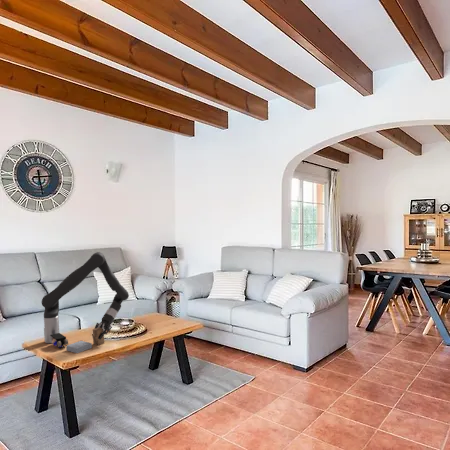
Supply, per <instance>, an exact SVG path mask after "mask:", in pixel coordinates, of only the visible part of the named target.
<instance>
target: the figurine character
mask: <svg viewBox="0 0 450 450" xmlns="http://www.w3.org/2000/svg"><path fill="white" fill-rule="evenodd" d="M50 336H52V337H53V340H52V343H51V344H52V345H53V346H55V347H57V348H58V349H59V350H61V349H62V347H63V348H66V346H67V345H69V339H67V336H65V335H63V334H62V333H60V332H59V333H56V334H51V335H50Z"/></svg>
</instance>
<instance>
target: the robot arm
mask: <svg viewBox="0 0 450 450" xmlns="http://www.w3.org/2000/svg"><path fill="white" fill-rule="evenodd" d="M105 257H106V256H105V255H104V253H102V252H100V251H99V252H98V251H97V252H94V253H93V254H92V255H90V257H89V259H88V260H86V261H85V263H83V264H82V265H81V266H80V267H78V268H77V269H75V270H74V271H72V272H71V273H70V274H68V275H67V276H66V277H65V278H64V279H63V280H62V281H61V282H59V285H57V286H56V287H55V288H54V289H53V290H52V291H50V292H49V293H47V294H45V295H44V296H43V297H42V298H41V306H42V307H43V308H44V313H43V326H44V327H43V338H44V343H46V344H52V340H53V337H52V336H50V335H51V334H56V333H60V320H59V317H60V316H59V313H60V312H59V311H60V300H61V299H62V298H63V297H64V296H66V294H68V293H70V292H71V291H72V290H74V289H75V288H77V287H78V286H79V285H80V284H81V283H83V281H85V279H86V278H87V277H88V276H89V275H90V274H91V273H92V272H94V271H96V269H99V270H100V272H101V274H102V275H103V276H104V279H105V281H106V283H107V285H108V286H109V288H110V289H111V291H113V292H115V293H116V294H115V295H114V297H113V299H112V303H111V304H110V305H109V307H108V308H107V310H106V311H105V312H104V315H102V317H101V322H96V323H95V326H94V328H93V329H95V328H102V332H101V334H100V335H99V337H98V339H100V340H101V338H102V337H103V335H104V336H105V335H108V333H109V332H110V331H111V329H112V328H113V326H112V324H113V323H114V320H115V319H116V317H117V315H118V313H119V311H120V309H121V308H122V303H123V301H127V300H128V299H129V295H130V294H129V291H127V289H126V288H125V287H124V286H123V285H122V284H121V283H120V281H119V279H118V278H117V277H116V275H115V274H114V272H113V271H112V269H111V267H110V265H109V264H108V262H107V258H105ZM103 331H104V332H103Z"/></svg>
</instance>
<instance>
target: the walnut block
mask: <svg viewBox="0 0 450 450" xmlns="http://www.w3.org/2000/svg"><path fill="white" fill-rule="evenodd" d="M94 328H95V327H94ZM94 328H93V329H92V343H93V344H92V345H96V346H100V345H103V344H105V335H103V337H102V338H101V340H100V339H98V337H99V335H100V334H101V332H102V328H95V329H94ZM103 332H104V331H103Z"/></svg>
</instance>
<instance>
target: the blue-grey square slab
mask: <svg viewBox="0 0 450 450" xmlns="http://www.w3.org/2000/svg"><path fill="white" fill-rule="evenodd" d="M92 343H93V342H88V341H83V340H78V341H76V342H72V343H70V344H67V345H65V348H66V349H65V350H66V351H68V352H72V353H75V354H79V353H82V352H84V351H87V350H90V349H92V348H93V344H92Z"/></svg>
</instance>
